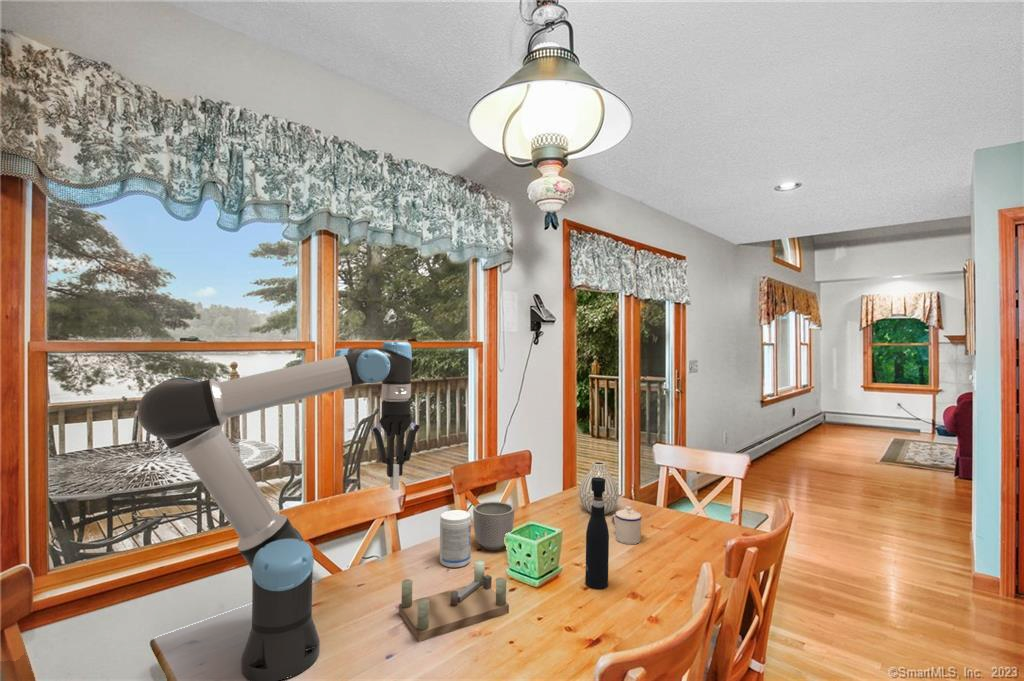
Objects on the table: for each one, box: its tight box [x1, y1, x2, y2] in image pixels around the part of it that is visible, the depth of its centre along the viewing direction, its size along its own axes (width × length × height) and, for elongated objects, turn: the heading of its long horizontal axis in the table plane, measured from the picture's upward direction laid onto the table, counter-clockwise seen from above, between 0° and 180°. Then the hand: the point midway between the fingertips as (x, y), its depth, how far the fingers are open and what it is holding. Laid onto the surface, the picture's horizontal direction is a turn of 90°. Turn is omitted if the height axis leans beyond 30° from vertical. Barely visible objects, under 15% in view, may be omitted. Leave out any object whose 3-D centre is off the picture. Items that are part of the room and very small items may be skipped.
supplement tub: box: [439, 509, 472, 569], centre depth 152 cm, size 10×10×15 cm
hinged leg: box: [458, 560, 486, 601], centre depth 130 cm, size 12×3×6 cm, turn 152°
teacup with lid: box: [610, 505, 643, 545], centre depth 172 cm, size 12×9×12 cm
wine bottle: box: [584, 477, 610, 591], centre depth 139 cm, size 6×6×30 cm
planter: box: [472, 501, 515, 552], centre depth 164 cm, size 14×14×13 cm
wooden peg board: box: [398, 574, 510, 642], centre depth 123 cm, size 24×14×8 cm, turn 122°
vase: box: [578, 460, 619, 516], centre depth 200 cm, size 16×16×20 cm
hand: (394, 488), depth 129 cm, fingers closed
